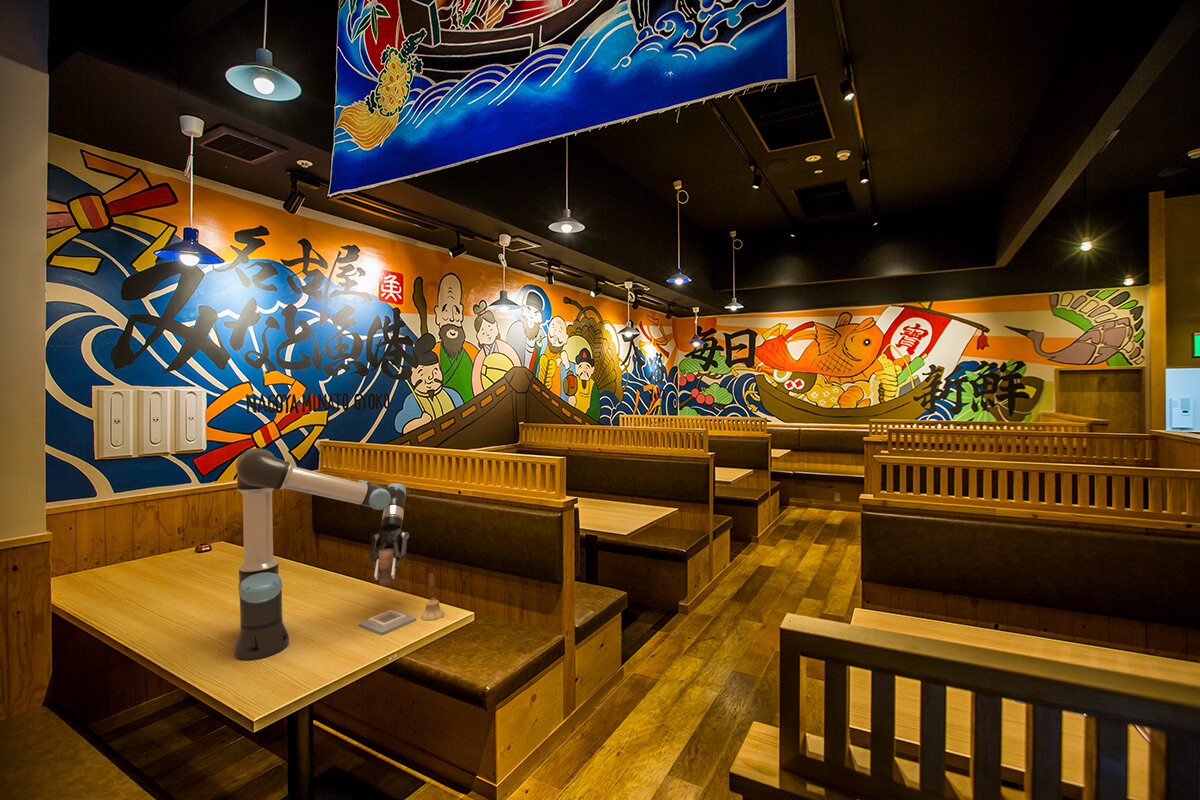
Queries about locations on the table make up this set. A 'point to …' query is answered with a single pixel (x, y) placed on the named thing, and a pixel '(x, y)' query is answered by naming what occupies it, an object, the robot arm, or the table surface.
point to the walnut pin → (386, 566)
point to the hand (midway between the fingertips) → (384, 577)
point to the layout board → (387, 622)
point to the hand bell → (432, 603)
